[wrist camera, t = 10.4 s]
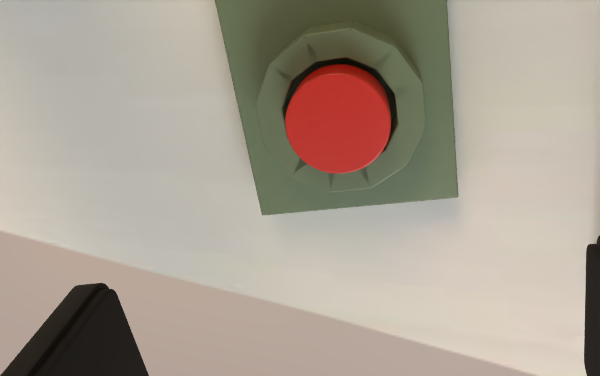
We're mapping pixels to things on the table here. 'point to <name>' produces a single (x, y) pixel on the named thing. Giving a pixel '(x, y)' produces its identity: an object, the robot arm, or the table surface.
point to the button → (338, 119)
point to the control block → (357, 52)
